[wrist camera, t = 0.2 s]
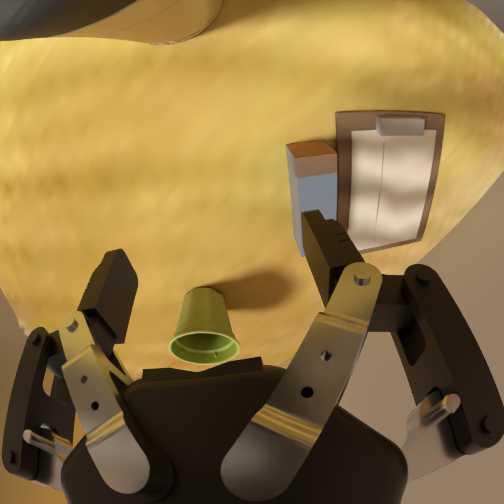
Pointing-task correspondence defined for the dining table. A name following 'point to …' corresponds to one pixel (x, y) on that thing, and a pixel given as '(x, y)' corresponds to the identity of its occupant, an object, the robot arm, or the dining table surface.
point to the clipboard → (386, 175)
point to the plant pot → (204, 330)
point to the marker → (311, 182)
